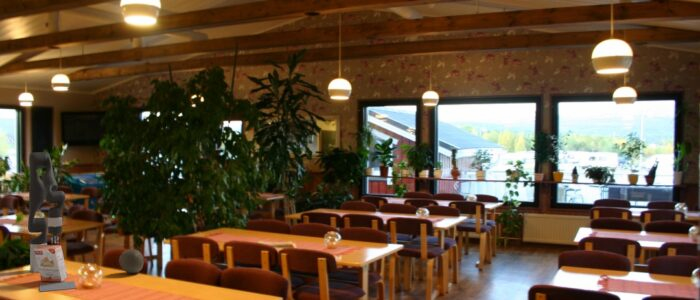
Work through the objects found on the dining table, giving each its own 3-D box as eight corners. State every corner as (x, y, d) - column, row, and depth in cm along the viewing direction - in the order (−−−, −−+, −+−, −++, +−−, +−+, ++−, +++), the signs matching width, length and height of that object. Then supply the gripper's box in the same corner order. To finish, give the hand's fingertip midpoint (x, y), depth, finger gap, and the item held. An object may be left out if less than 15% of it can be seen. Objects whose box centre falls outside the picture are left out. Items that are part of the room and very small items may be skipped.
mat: (39, 284, 340) (39, 283, 340) (74, 281, 348) (74, 280, 348) (39, 292, 324) (39, 291, 324) (76, 288, 332) (76, 287, 332)
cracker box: (40, 281, 347) (33, 248, 341) (47, 276, 352) (40, 244, 347) (61, 282, 343) (54, 249, 338) (68, 277, 349) (61, 244, 344)
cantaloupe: (130, 270, 380) (130, 246, 380) (148, 272, 375) (148, 248, 375) (114, 274, 367) (114, 250, 367) (132, 277, 362) (132, 252, 361)
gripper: (47, 223, 354) (47, 253, 354) (48, 226, 342) (47, 257, 342) (61, 223, 357) (61, 252, 357) (62, 226, 345) (62, 256, 346)
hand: (54, 254), depth 350 cm, fingers closed
